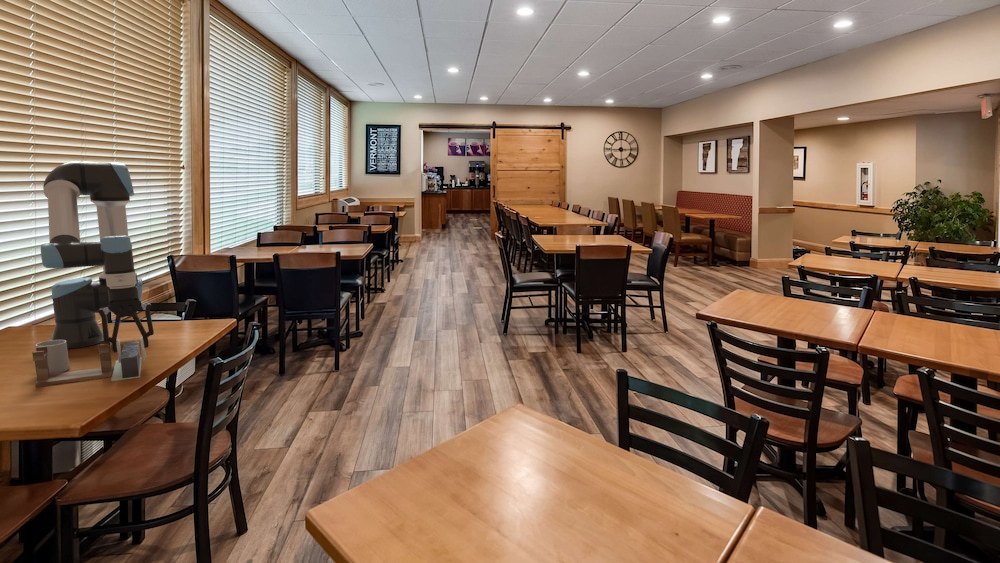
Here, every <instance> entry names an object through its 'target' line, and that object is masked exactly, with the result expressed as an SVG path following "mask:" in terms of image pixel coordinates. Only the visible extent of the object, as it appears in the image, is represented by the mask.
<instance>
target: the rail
mask: <svg viewBox="0 0 1000 563" xmlns="http://www.w3.org/2000/svg"><path fill="white" fill-rule="evenodd" d="M139 341H140V340H137V341H136V340H135V341H134V340H133V341H126V342H123V346H122V349H121V353H122V354H121V368H122V378H129V377H137V376H139V369H140V357H141V350H140V342H139Z"/></svg>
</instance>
